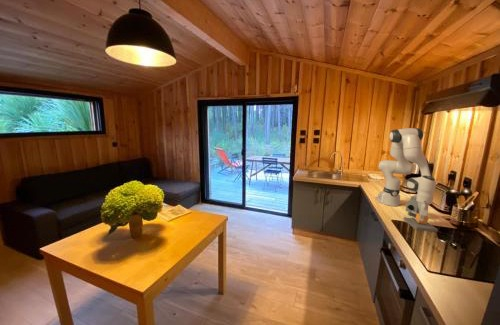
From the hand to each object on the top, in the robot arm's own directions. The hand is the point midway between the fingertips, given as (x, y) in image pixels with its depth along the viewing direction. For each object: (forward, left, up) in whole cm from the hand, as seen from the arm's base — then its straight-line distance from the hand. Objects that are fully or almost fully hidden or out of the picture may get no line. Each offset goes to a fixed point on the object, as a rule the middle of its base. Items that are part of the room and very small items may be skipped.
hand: (420, 218), depth 153 cm
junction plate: (0, 0, -6) cm, 6 cm away
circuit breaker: (-18, +6, -6) cm, 20 cm away
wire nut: (0, +1, -3) cm, 3 cm away
